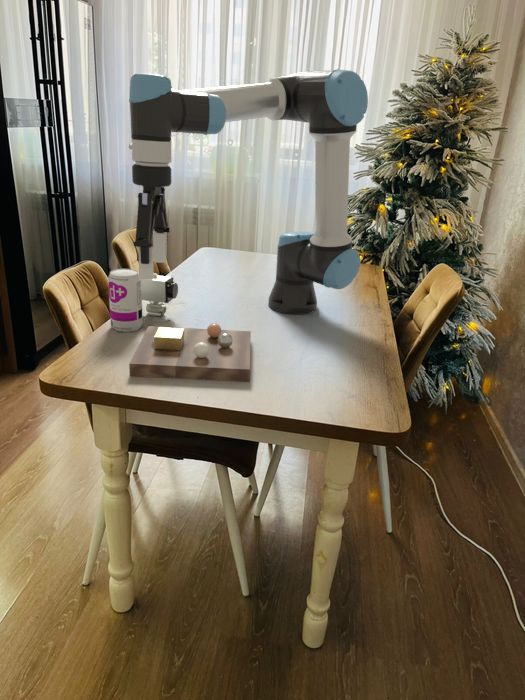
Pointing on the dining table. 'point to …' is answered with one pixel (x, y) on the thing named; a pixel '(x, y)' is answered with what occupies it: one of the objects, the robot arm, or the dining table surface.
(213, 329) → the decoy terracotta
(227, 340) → the steel ball
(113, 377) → the dining table surface
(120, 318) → the supplement can
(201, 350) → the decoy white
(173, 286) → the pneumatic valve
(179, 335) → the block
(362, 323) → the dining table surface
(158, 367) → the board
